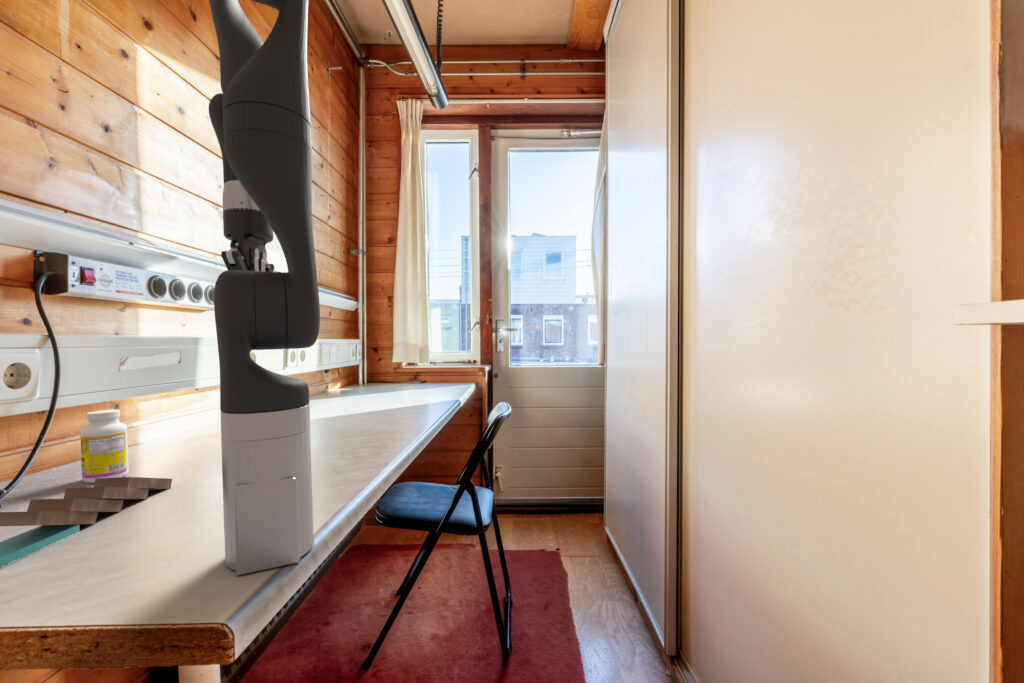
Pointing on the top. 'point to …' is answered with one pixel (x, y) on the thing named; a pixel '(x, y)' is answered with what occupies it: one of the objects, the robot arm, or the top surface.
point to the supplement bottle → (104, 446)
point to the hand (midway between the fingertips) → (251, 311)
